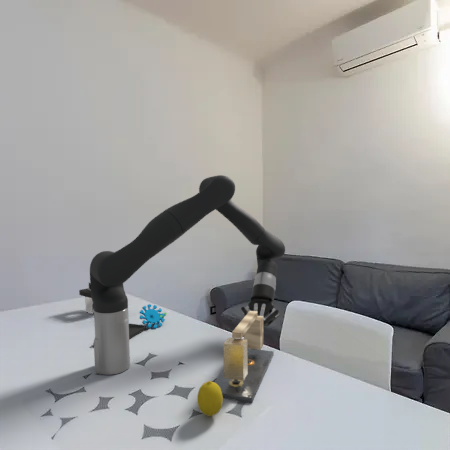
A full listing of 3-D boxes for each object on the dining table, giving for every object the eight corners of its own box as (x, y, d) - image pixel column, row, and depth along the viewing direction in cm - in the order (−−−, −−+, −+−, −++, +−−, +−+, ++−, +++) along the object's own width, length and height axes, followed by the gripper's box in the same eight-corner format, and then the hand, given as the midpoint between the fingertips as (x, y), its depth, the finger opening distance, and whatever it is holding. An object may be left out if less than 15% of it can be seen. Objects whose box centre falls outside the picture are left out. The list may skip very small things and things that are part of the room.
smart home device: (91, 342, 120) (128, 322, 139) (92, 347, 120) (129, 327, 139) (112, 346, 117) (147, 325, 136) (112, 351, 117) (147, 330, 136)
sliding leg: (247, 345, 113) (247, 308, 112) (263, 347, 112) (263, 309, 111) (227, 375, 94) (227, 331, 93) (246, 378, 93) (246, 333, 92)
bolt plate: (238, 351, 115) (238, 313, 114) (273, 355, 111) (273, 316, 110) (208, 395, 89) (207, 347, 88) (252, 402, 86) (251, 353, 85)
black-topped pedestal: (54, 313, 157) (53, 282, 156) (112, 301, 174) (111, 273, 173) (80, 330, 136) (78, 295, 135) (142, 314, 154) (141, 283, 153)
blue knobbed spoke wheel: (143, 327, 132) (137, 303, 138) (138, 336, 135) (132, 312, 141) (171, 325, 138) (164, 302, 144) (164, 333, 142) (158, 310, 148)
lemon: (197, 409, 83) (196, 375, 83) (222, 408, 84) (221, 374, 83) (198, 424, 78) (197, 388, 77) (224, 423, 78) (223, 387, 78)
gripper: (243, 281, 123) (232, 329, 113) (282, 284, 119) (275, 334, 109) (247, 293, 129) (237, 340, 118) (284, 296, 125) (278, 344, 114)
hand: (255, 337), depth 113 cm, fingers closed
